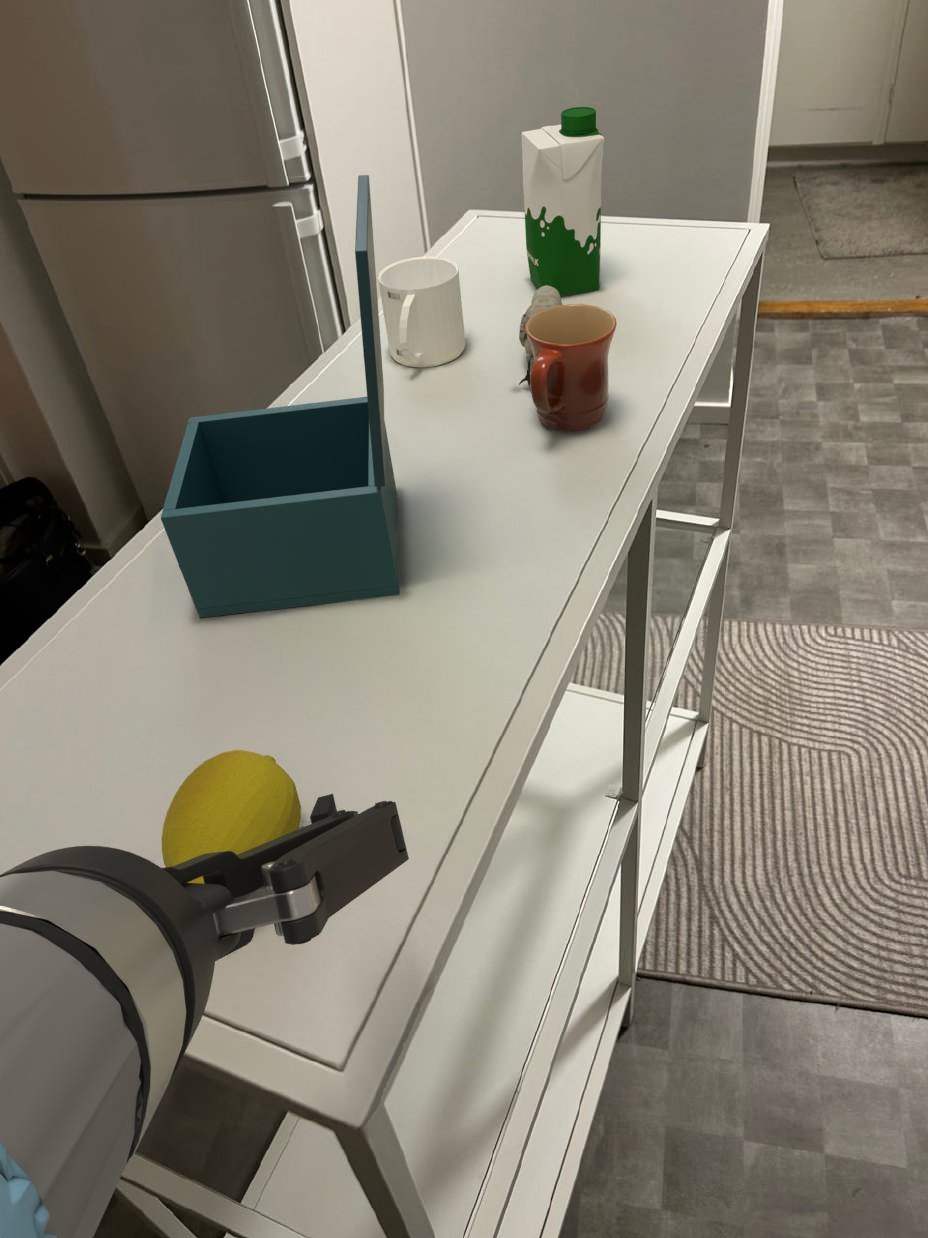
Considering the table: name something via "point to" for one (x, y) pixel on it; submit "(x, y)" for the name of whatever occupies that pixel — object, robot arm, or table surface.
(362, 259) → the lid
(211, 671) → the table surface
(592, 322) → the mug
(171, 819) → the lemon
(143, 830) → the table surface
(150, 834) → the table surface
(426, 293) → the mug
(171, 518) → the teal box
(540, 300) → the decorative bird
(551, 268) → the soya milk
